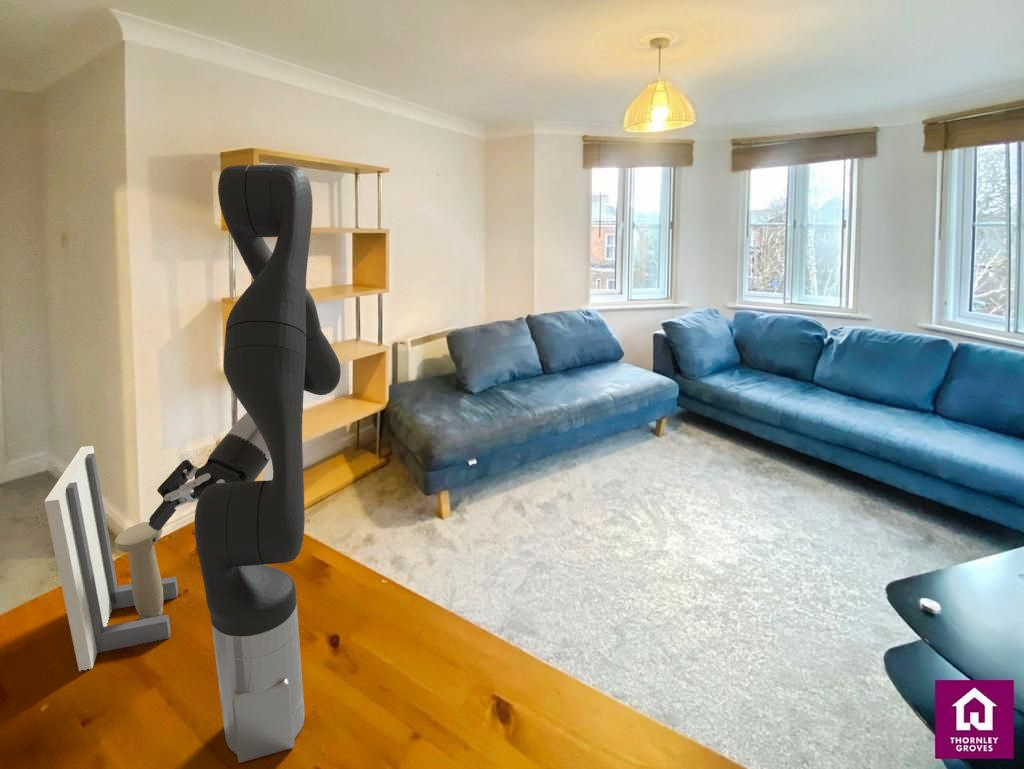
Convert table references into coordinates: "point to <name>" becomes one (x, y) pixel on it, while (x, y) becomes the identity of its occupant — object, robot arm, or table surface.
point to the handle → (143, 568)
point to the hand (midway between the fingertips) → (177, 539)
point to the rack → (93, 567)
